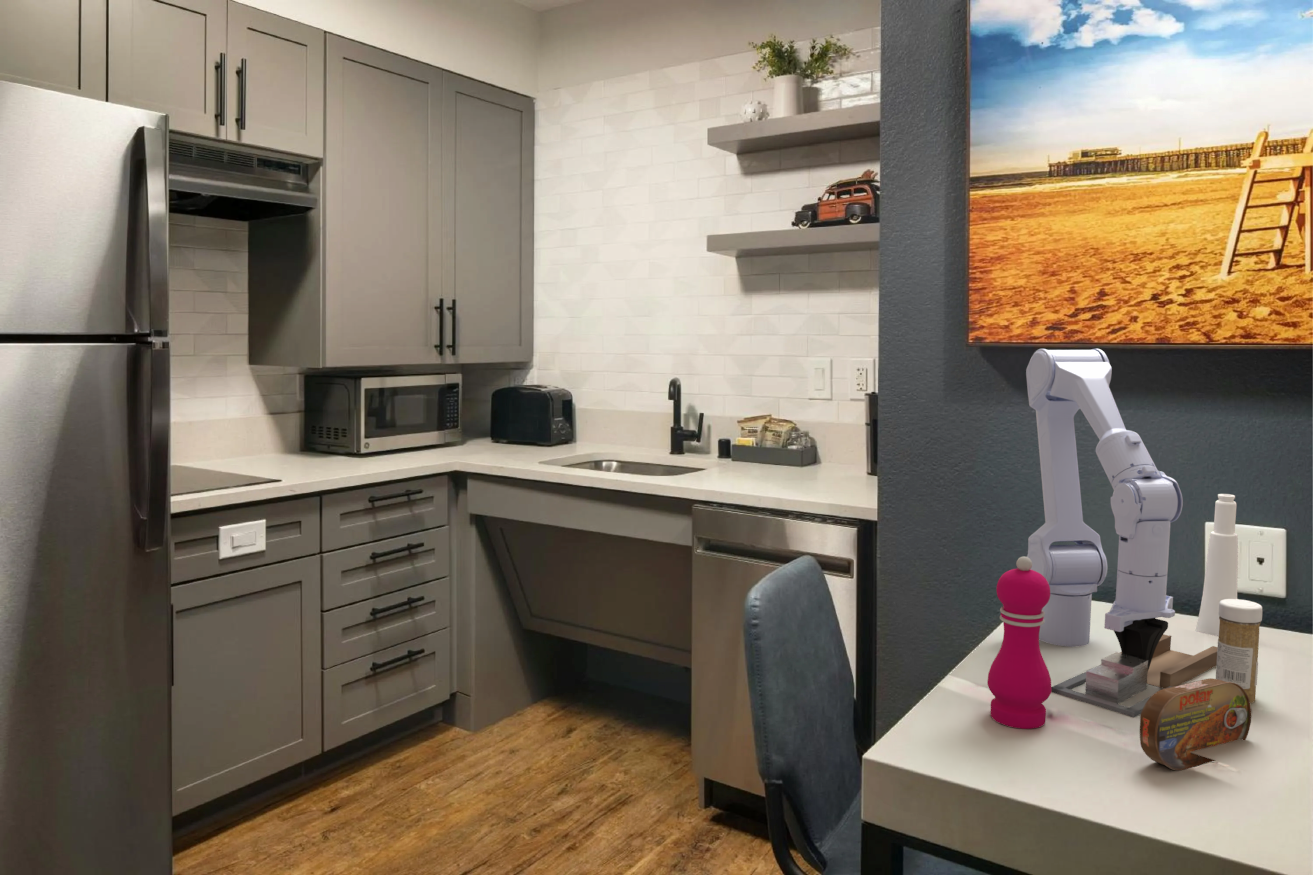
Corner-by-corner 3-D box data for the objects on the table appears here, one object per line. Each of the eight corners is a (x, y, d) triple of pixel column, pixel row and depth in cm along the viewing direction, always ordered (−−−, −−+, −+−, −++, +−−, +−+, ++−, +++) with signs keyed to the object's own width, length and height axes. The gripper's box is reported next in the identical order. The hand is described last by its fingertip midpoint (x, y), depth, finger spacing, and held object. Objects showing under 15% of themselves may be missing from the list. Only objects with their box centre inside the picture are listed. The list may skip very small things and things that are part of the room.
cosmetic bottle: (1230, 644, 142) (1240, 499, 140) (1187, 635, 147) (1196, 494, 144) (1246, 637, 146) (1256, 495, 143) (1204, 627, 151) (1213, 490, 148)
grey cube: (1100, 689, 121) (1101, 659, 121) (1115, 681, 124) (1116, 652, 123) (1131, 698, 118) (1133, 667, 118) (1146, 690, 121) (1148, 660, 120)
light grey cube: (1084, 701, 119) (1086, 671, 118) (1100, 693, 121) (1102, 663, 121) (1116, 711, 116) (1118, 680, 115) (1132, 703, 118) (1133, 672, 118)
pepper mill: (1048, 711, 117) (1055, 552, 115) (1051, 734, 110) (1059, 565, 108) (986, 703, 120) (992, 547, 117) (985, 726, 113) (992, 561, 111)
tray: (1049, 702, 120) (1050, 687, 120) (1097, 680, 128) (1098, 666, 127) (1133, 729, 112) (1134, 712, 112) (1179, 703, 120) (1180, 688, 119)
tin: (1156, 777, 100) (1161, 700, 99) (1131, 764, 103) (1135, 689, 102) (1252, 752, 106) (1257, 679, 105) (1225, 741, 109) (1230, 669, 108)
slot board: (1106, 683, 127) (1107, 657, 126) (1160, 657, 137) (1162, 633, 136) (1169, 701, 120) (1170, 674, 120) (1221, 673, 130) (1222, 648, 130)
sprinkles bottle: (1262, 710, 118) (1270, 604, 116) (1244, 718, 115) (1251, 610, 114) (1223, 698, 121) (1230, 595, 120) (1205, 706, 119) (1212, 601, 117)
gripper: (1148, 587, 114) (1141, 696, 115) (1199, 568, 123) (1193, 670, 124) (1090, 575, 119) (1085, 680, 121) (1143, 558, 128) (1138, 655, 130)
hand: (1136, 674), depth 123 cm, fingers closed
